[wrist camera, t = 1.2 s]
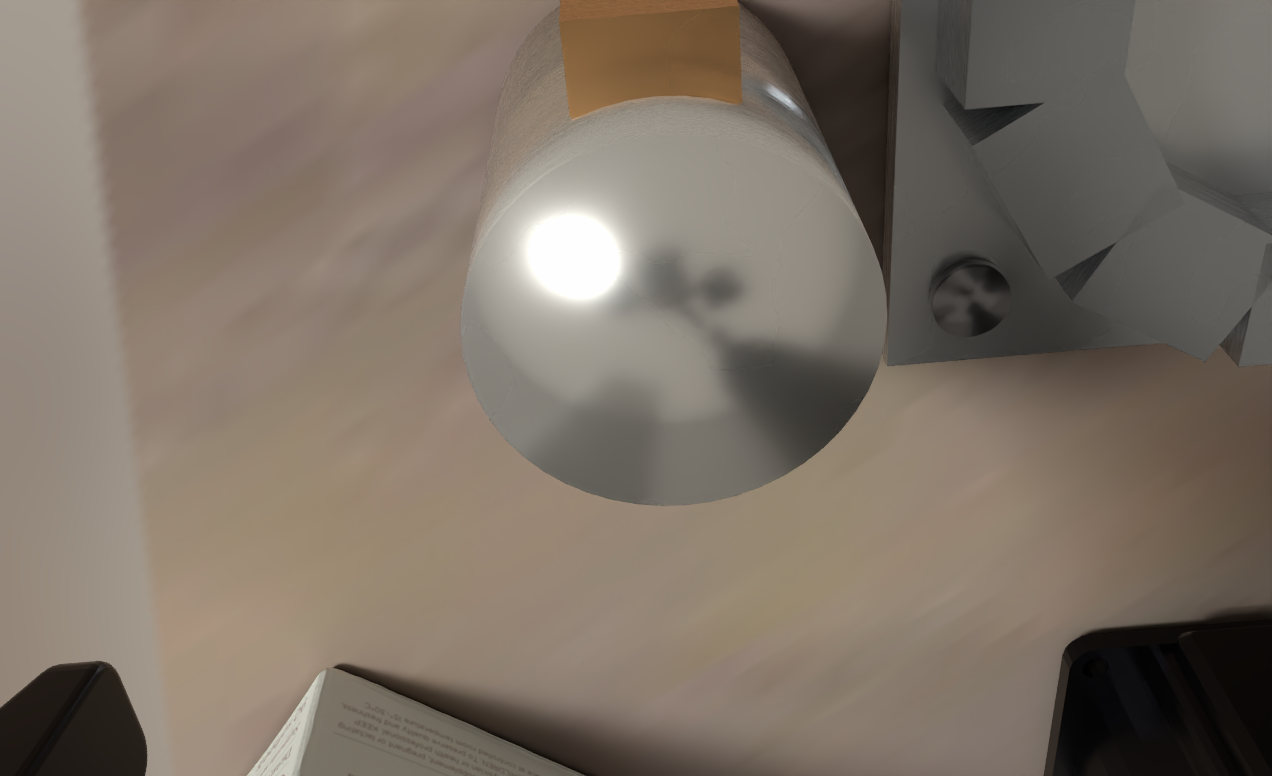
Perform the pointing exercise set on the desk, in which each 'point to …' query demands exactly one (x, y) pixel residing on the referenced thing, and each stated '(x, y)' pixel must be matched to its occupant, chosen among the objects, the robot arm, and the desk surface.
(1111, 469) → the desk surface
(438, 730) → the supplement box
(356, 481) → the desk surface
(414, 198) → the desk surface
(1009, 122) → the duct flange
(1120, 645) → the robot arm
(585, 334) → the silver metal cylinder
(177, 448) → the desk surface
